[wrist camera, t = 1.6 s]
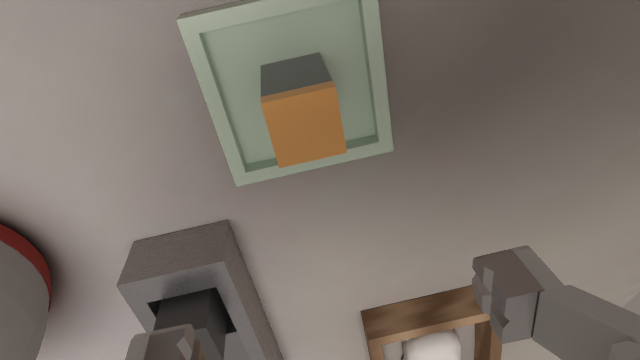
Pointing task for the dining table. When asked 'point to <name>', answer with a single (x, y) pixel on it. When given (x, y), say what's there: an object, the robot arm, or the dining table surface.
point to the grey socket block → (199, 284)
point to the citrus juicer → (22, 297)
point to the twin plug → (197, 318)
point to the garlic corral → (430, 322)
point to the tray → (281, 44)
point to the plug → (301, 110)
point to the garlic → (433, 347)
